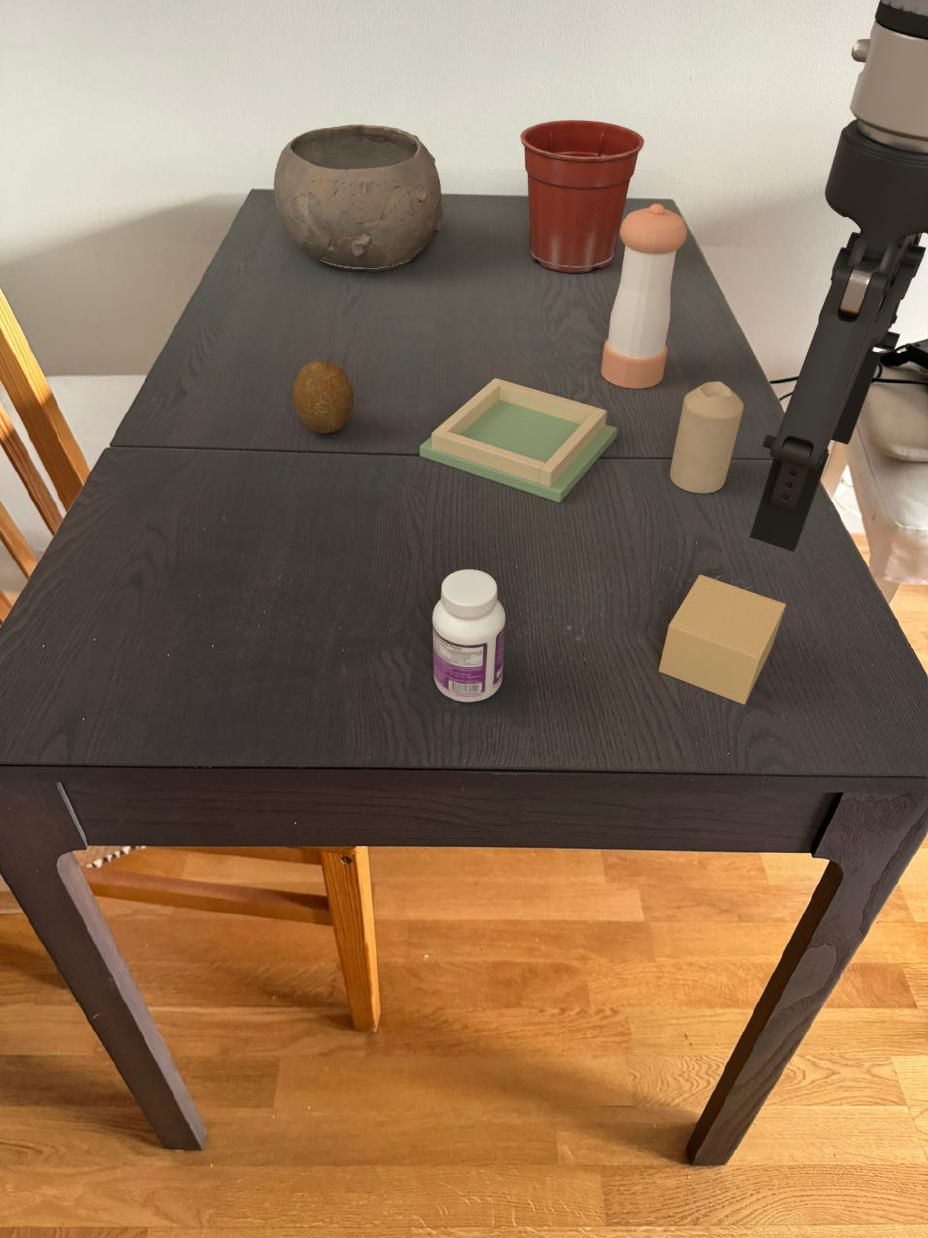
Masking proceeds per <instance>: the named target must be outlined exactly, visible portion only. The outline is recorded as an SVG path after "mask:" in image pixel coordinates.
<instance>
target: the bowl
mask: <svg viewBox="0 0 928 1238" xmlns="http://www.w3.org/2000/svg"><path fill="white" fill-rule="evenodd" d="M273 177H274V178H273V194H274V203H275V205H276V209H277V213H278V216H279V219H280V221H281V223H282V225H283V228H284V229H285V231H286V232H287V233H288V236H289V237H290V239H291V240H292V241H293V242H294V243H295V245H296V246H297V247H298V249H300V250H301V251H303V252H304V253H305V254H307V255H308V254H309V255H308V256H310V257H312V256H313V257H312V258H314V257H315V258H314V259H316V258H317V259H319V260H322V261H325V262H328V263H332V264H336V265H342V266H350V267H363V268H378V267H385V266H391V267H385V268H379V269H352V268H344V267H339V266H334V265H330V264H327V263H324V262H322V263H323V264H325V265H327V266H330V267H333V268H335V269H336V268H337V269H339V270H344V271H348V272H368V273H379V272H386V271H390V270H393V269H397V268H400V267H403V266H405V265H407V264H408V263H410V262H411V261H413V260H414V259H416V257H417V256H418V255H419V254H420V253H421V252H422V251H424V249H425V247H426V246H427V245H428V243H429V242H430V240H431V239H432V237H433V234H434V233H439V231H440V230H441V222H442V220H443V216H444V209H445V206H446V205H445V204H444V203H442V185H441V180H440V174H439V171H438V168H437V166H436V158H435V157H434V156H433V154H432V153H430V151H429V149H428V148H427V146H426V145H425V144H424V143H423V142H422V141H421V140H420V138H419V136H418V135H415V134H412V133H410V132H408V131H407V130H402V129H401V128H397V127H390V126H385V125H375V124H374V125H372V124H371V125H369V124H368V125H367V124H364V123H363V124H346V125H339V126H330V127H324V128H316V129H313V130H310V131H306V132H303V133H301V134H300V135H297V136H295V137H294V138H293V139H292V140H289V142H287V144H286V145H285V146H284V147H283V149H282V150H281V151H280V154H279V156H278V160H277V163H276V167H275V170H274V176H273ZM417 254H418V255H417ZM416 255H417V256H416ZM413 257H414V258H413ZM412 258H413V259H412ZM317 259H316V260H317ZM410 259H411V260H410ZM319 260H318V261H319ZM407 260H409V261H407ZM405 261H407V262H405ZM402 262H404V263H402ZM399 263H402V264H399ZM396 264H398V265H396ZM392 265H395V266H392Z"/></svg>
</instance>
